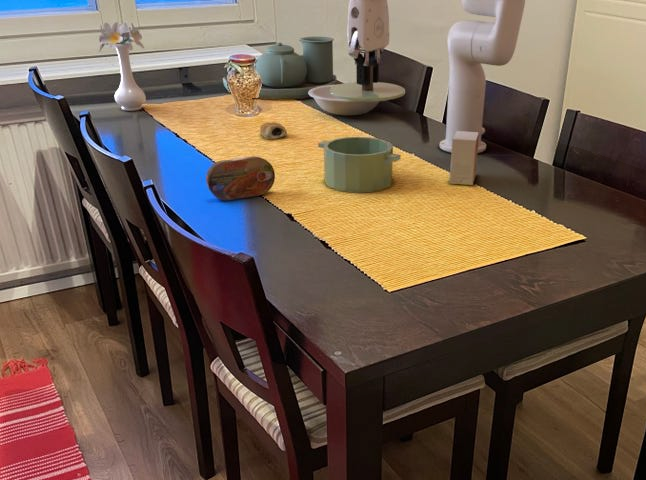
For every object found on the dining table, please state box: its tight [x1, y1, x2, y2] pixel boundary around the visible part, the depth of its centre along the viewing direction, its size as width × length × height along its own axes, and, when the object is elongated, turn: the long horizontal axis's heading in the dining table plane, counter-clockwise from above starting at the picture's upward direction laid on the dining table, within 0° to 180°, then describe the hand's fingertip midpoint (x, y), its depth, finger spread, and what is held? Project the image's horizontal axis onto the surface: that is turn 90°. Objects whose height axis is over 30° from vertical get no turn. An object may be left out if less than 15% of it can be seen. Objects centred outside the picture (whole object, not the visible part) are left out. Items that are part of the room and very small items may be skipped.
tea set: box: [222, 36, 338, 101], centre depth 258 cm, size 40×40×16 cm
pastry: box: [259, 121, 287, 141], centre depth 208 cm, size 9×7×4 cm
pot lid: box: [330, 64, 406, 102], centre depth 162 cm, size 17×17×6 cm
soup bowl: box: [308, 83, 380, 116], centre depth 230 cm, size 24×24×7 cm
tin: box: [205, 155, 276, 202], centre depth 162 cm, size 15×3×8 cm, turn 117°
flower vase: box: [97, 21, 147, 112], centre depth 227 cm, size 13×18×25 cm
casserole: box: [317, 136, 402, 193], centre depth 172 cm, size 16×21×8 cm
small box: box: [449, 131, 479, 186], centre depth 174 cm, size 8×6×10 cm
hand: (367, 82), depth 162 cm, fingers closed on pot lid, 2 cm apart
